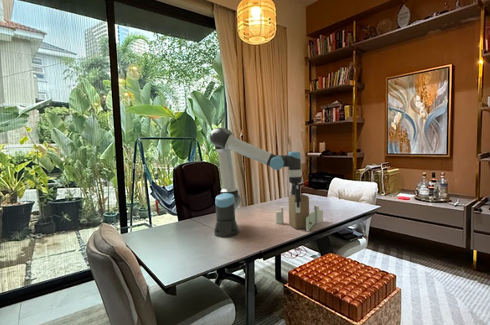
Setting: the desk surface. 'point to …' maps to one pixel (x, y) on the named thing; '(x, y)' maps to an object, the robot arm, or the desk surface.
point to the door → (310, 220)
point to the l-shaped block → (317, 215)
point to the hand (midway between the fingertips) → (296, 209)
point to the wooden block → (298, 218)
